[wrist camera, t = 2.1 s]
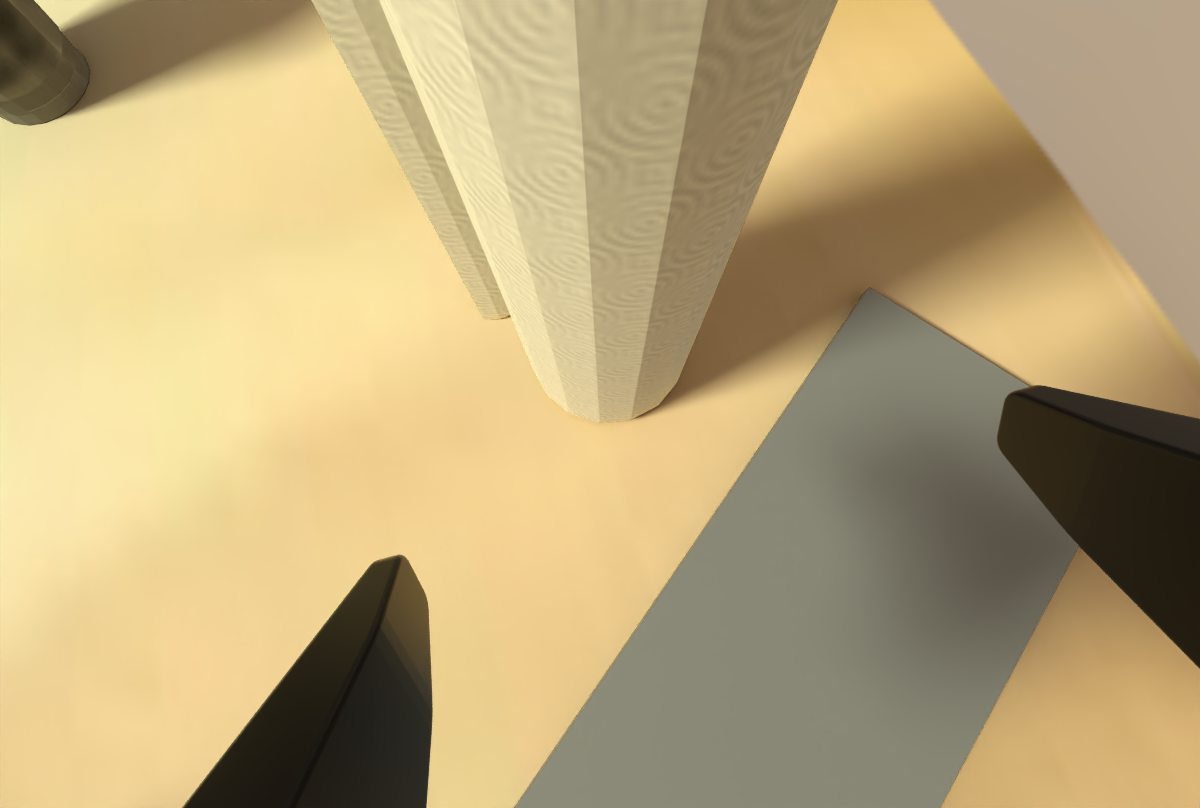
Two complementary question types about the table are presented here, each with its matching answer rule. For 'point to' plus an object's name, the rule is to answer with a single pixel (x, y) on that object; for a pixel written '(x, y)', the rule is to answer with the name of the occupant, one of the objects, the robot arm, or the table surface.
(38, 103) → the beverage cup
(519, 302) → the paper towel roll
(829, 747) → the gray mat
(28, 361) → the table surface
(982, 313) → the table surface
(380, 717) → the robot arm
